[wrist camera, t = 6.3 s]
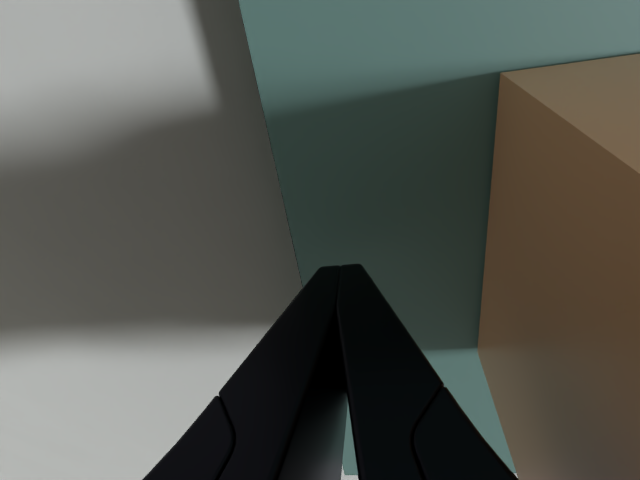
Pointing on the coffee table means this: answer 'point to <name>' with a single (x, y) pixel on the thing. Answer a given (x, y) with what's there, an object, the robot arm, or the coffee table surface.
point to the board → (409, 147)
